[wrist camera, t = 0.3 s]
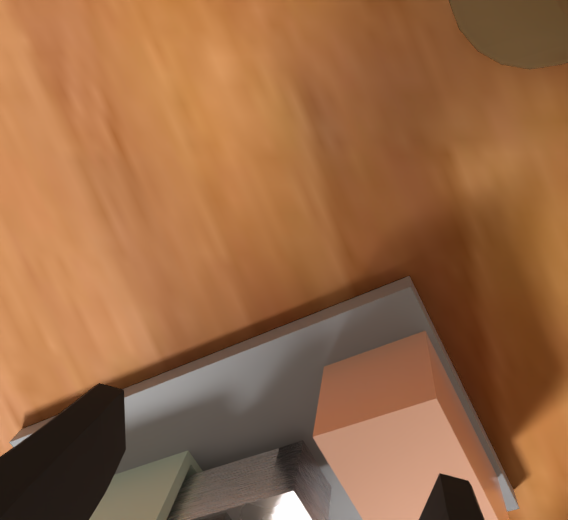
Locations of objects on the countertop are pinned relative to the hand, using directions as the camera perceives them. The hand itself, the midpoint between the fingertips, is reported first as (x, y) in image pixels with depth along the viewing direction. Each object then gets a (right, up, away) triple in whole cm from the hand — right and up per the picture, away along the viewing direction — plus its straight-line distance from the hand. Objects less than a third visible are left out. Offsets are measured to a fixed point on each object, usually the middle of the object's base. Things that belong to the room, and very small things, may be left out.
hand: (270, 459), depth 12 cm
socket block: (+6, -3, +11) cm, 12 cm away
